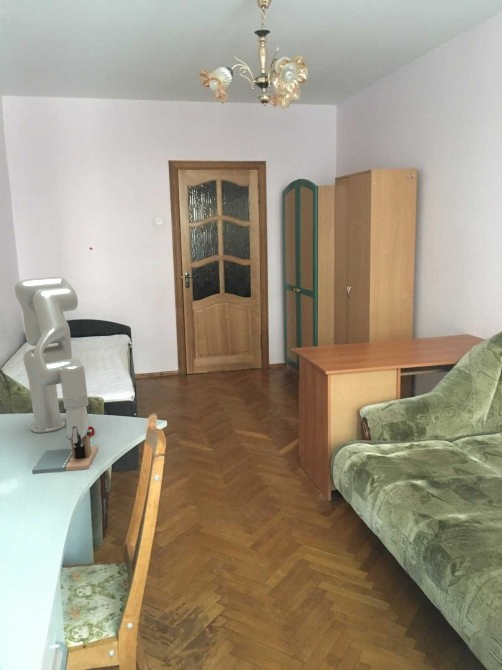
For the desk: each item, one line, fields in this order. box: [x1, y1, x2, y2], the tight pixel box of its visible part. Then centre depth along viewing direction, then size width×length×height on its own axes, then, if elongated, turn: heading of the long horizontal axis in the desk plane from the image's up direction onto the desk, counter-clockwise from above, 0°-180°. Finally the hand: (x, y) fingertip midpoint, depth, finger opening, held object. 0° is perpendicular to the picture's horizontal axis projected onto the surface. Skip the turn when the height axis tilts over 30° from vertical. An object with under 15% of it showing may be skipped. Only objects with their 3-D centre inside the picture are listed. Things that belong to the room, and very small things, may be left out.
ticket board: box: [31, 447, 73, 475], centre depth 181 cm, size 16×10×1 cm, turn 5°
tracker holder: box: [66, 425, 96, 442], centre depth 202 cm, size 12×4×10 cm
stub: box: [65, 435, 99, 471], centre depth 181 cm, size 16×7×7 cm, turn 5°
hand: (82, 454), depth 181 cm, fingers closed on stub, 4 cm apart
